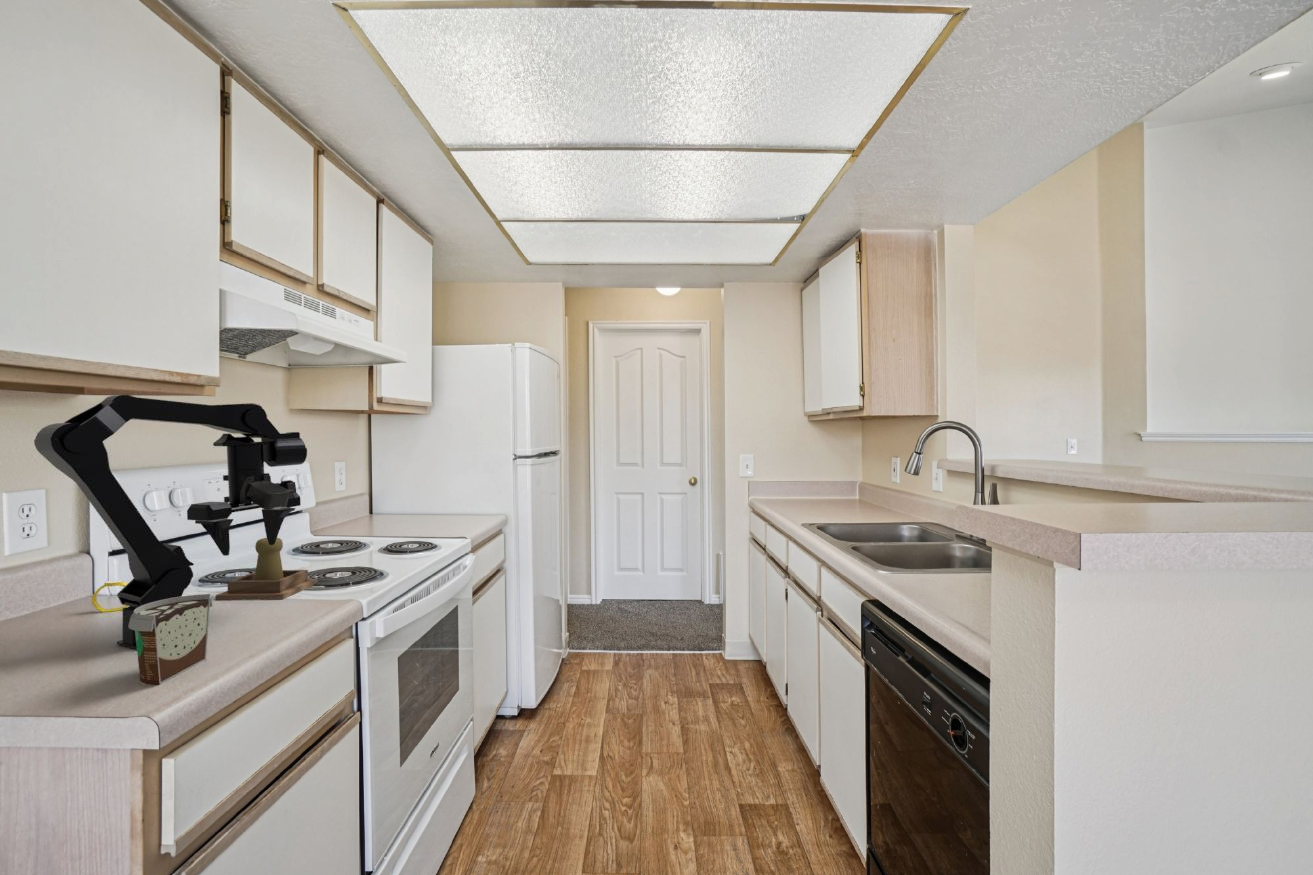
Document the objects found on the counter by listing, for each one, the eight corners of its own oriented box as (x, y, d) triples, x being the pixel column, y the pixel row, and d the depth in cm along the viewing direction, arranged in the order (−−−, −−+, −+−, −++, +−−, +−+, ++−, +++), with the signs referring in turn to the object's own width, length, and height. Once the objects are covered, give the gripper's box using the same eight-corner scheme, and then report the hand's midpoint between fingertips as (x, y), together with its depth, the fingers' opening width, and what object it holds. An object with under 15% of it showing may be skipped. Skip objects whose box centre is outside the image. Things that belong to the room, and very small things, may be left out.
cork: (247, 590, 129) (247, 540, 129) (261, 583, 135) (261, 535, 135) (276, 589, 130) (276, 539, 130) (290, 583, 136) (290, 535, 136)
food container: (171, 657, 93) (171, 593, 93) (212, 656, 93) (212, 592, 93) (103, 690, 80) (103, 617, 80) (151, 689, 81) (151, 616, 81)
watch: (133, 608, 121) (136, 578, 121) (130, 611, 118) (133, 581, 119) (93, 610, 117) (96, 580, 118) (90, 614, 115) (93, 583, 115)
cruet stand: (283, 599, 126) (283, 582, 126) (215, 599, 126) (215, 583, 126) (317, 583, 140) (317, 568, 140) (257, 583, 140) (257, 569, 140)
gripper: (229, 474, 102) (233, 564, 102) (320, 465, 120) (323, 541, 120) (182, 473, 105) (187, 560, 106) (278, 464, 123) (281, 539, 123)
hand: (249, 549), depth 114 cm, fingers open, 9 cm apart
